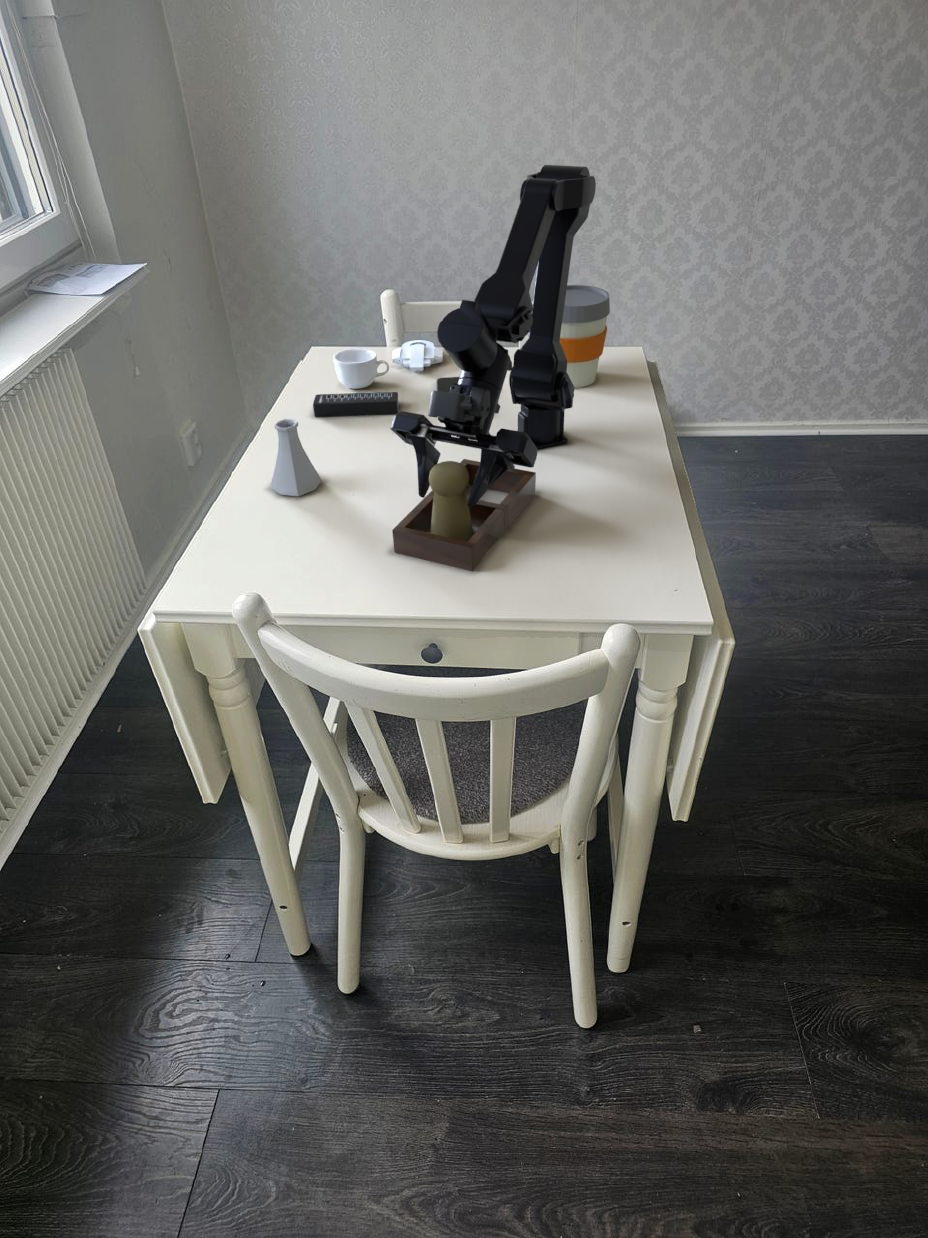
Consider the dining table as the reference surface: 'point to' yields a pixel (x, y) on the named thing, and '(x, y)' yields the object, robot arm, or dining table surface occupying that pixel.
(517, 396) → the robot arm
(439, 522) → the olive pawn
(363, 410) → the multiport hub
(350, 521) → the dining table surface
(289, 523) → the dining table surface
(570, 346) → the reusable coffee cup
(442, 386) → the smartphone
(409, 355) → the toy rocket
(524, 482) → the frame
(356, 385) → the teacup
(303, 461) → the flask
